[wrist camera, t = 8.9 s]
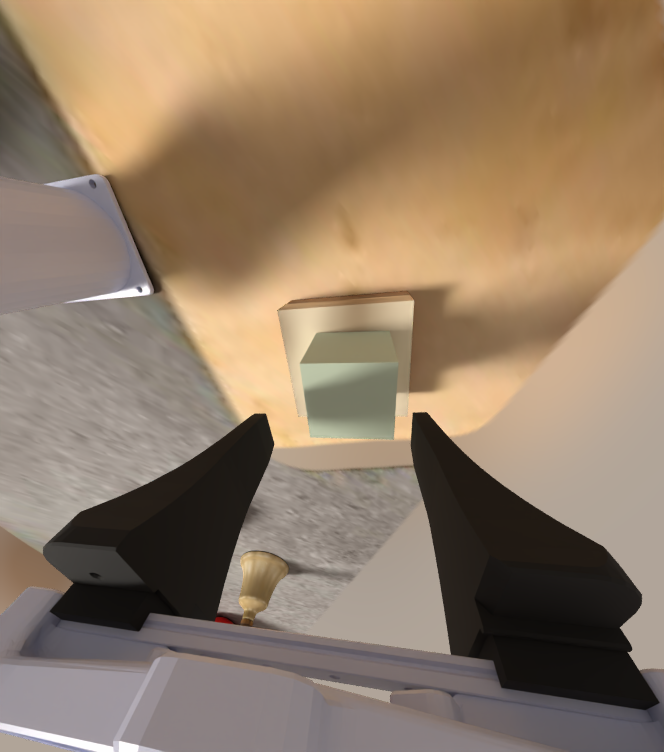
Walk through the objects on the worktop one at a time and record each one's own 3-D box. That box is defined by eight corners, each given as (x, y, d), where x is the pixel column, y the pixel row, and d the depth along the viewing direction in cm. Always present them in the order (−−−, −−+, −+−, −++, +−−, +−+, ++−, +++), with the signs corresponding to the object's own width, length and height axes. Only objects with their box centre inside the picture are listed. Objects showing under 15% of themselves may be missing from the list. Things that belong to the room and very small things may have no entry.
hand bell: (299, 570, 41) (263, 739, 27) (266, 580, 44) (220, 735, 30) (262, 545, 38) (203, 716, 25) (231, 557, 42) (163, 714, 28)
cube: (322, 393, 19) (310, 437, 15) (316, 333, 17) (299, 363, 13) (386, 393, 19) (393, 439, 14) (389, 330, 16) (398, 362, 12)
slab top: (303, 403, 23) (298, 416, 21) (285, 304, 18) (277, 310, 17) (404, 402, 21) (407, 416, 19) (409, 294, 17) (414, 300, 15)
